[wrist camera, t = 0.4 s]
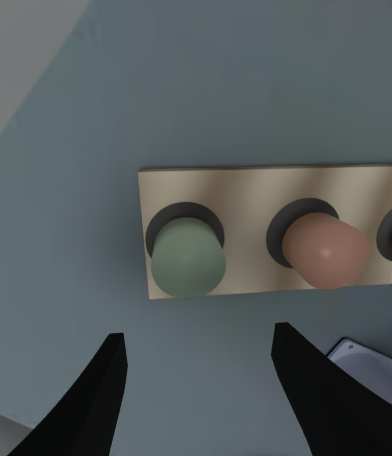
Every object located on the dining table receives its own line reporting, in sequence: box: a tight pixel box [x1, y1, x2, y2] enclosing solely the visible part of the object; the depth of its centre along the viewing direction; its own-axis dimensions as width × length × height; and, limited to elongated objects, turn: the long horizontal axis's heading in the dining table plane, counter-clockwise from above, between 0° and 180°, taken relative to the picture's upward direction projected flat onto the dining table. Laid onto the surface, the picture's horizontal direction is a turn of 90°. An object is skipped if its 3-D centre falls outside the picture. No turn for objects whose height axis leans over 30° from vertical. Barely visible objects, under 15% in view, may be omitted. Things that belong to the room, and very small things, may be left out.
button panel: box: [138, 164, 392, 299], centre depth 19 cm, size 24×10×2 cm, turn 90°
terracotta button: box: [282, 212, 370, 290], centre depth 16 cm, size 4×4×3 cm
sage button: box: [151, 217, 226, 299], centre depth 16 cm, size 4×4×3 cm
